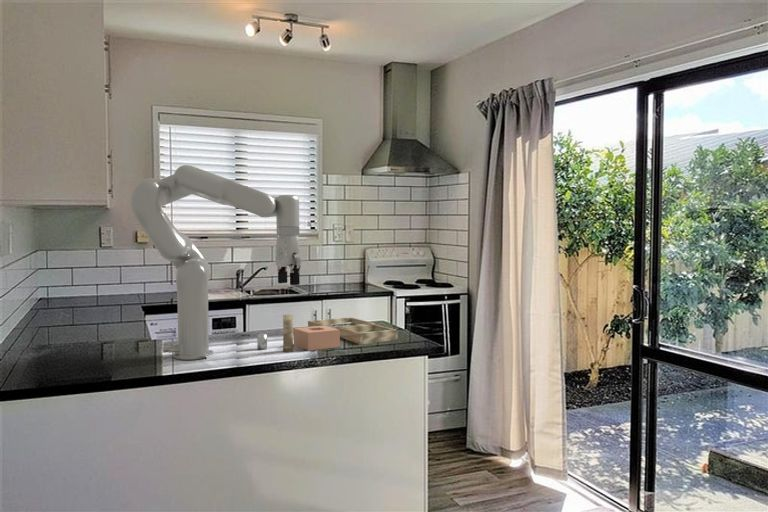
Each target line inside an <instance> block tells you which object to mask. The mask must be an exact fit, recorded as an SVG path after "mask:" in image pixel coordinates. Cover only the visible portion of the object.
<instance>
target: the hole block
mask: <svg viewBox="0 0 768 512" xmlns="http://www.w3.org/2000/svg"><path fill="white" fill-rule="evenodd" d="M328 326H329V325H327V326H324V325H323V326H312V327H308V326H303V327H302V326H301V327H293V346H295V347H296V348H297V347H298V348H301V349H303V350H306V351H309V352H310V351H316V350H326V349H335V348H341V337H340V330H339V329H335V328H331V327H332V326H331V327H328Z"/></svg>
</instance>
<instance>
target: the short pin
mask: <svg viewBox="0 0 768 512" xmlns="http://www.w3.org/2000/svg"><path fill="white" fill-rule="evenodd" d="M256 338H257V339H256V340H257V343H256V344H257V345H256V346H257V348H256V349H257V350H258V351H265V350H268V333H258V334H257V337H256Z"/></svg>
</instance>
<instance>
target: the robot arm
mask: <svg viewBox="0 0 768 512" xmlns="http://www.w3.org/2000/svg"><path fill="white" fill-rule="evenodd" d="M191 195H194V196H197V197H199V198H202V199H206V200H208V201H211V202H213V203H217V204H219V205H225V206H230V207H234V208H236V209H240V210H242V211H245V212H248V213H250V214H252V215H253V214H254V215H255V216H258V217H261V218H271V217H276V219H275V220H276V221H275V222H276V223H275V224H276V238H277V239H276V245H275V265H276V266H277V283H278V284H287V283H288V270H287V269H288V267H289V271H290V272H289V286H300V283H301V282H300V280H301V279H300V278H301V277H300V272H301V264H302V259H301V254H300V252H301V251H300V241H299V237H300V199H299V197H298V196H297V195H293V194H281V195H278V196H273V195H270V194H269V193H265V192H264V191H260V190H257V189H256V188H252V187H250V186H247V185H244V184H242V183H238V182H236V181H234V180H233V179H229V178H226V177H224V176H220V175H217V174H215V173H212V172H209V171H206V170H204V169H201V168H198V167H196V166H192V165H190V164H184V165H181V166H178V167H177V169H176V170H175V171H174V173H173V174H171V175H169V176H166V177H163V178H161V179H158V178H153V177H150V178H149V177H148V178H144V179H142V180H140V182H138V183H137V184H136V185H135V188H134V189H133V191H132V195H131V200H130V205H131V211H132V213H133V216H134V218H135V219H136V222H137V223H138V225H139V226H140V228H141V229H142V231H144V233H145V235H146V236H147V238H148V239H149V240H150V241H151V243H152V244H153V246H154V248H156V250H157V252H158V253H159V255H160V256H161V257H162V258H163V259H165V260H166V261H170V262H171V263H172V265H173V266H174V267H175V269H176V270H177V271H176V274H175V283H176V285H175V286H176V293H177V294H176V295H177V341H175V344H172V345H170V346H169V345H168V346H167V345H166V346H162V353H163V354H164V353H166V354H167V353H169V354H171V353H173V354H172V358H174V359H176V360H185V361H186V360H189V361H190V360H202V359H207V358H208V357H209V356H212V355H213V354H214V352H215V351H214V350H211V349H209V347H210V346H209V345H210V343H209V342H210V341H209V289H208V283H209V280H210V278H211V274H212V269H211V266H210V265H209V263H208V262H207V259H205V258H204V256H203V254H202V253H201V252H200V250H199V249H198V248H197V246H196V244H194V242H193V241H192V240H191V238H190V237H189V236H188V235H186V234H185V233H183V232H180V231H179V230H178V229H177V227H176V226H175V225H174V224H173V223H172V222H171V220H170V218H169V217H168V216H167V214H166V213H165V212H164V210H163V208H162V207H163V206H166V205H168V204H171V203H174V202H176V201H178V200H181V199H184V198H186V197H188V196H191Z"/></svg>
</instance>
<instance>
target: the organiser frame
mask: <svg viewBox="0 0 768 512" xmlns="http://www.w3.org/2000/svg"><path fill="white" fill-rule="evenodd" d="M346 323H352V325H351V324H350V325H340V324H346ZM337 324H339V326H331V325H337ZM323 325H324V326H328V327H331V328H335V329H339V330H340V338H342V339H345V340H347V341H350V342H352V343H355V344H357V345H359V346H361V345H369V344H374V343H381V342H388V341H394V340H398V329H396V328H391V327H387V326H382V325H379V324H377V323H376V322H372V321H367V320H363V319H360V318H355V317H340V318H329V319H317V320H308V321H307V327H312V326H323ZM373 331H375V332H373Z"/></svg>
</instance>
